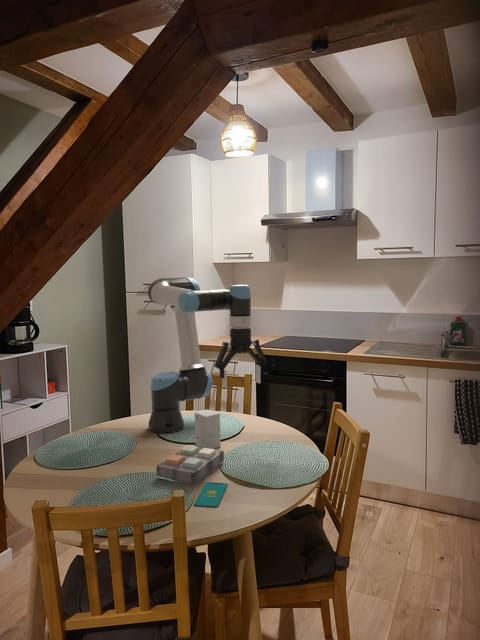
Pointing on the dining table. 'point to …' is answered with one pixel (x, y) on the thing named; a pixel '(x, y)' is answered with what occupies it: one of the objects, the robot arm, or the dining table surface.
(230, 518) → the dining table surface
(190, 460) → the key blue
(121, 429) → the dining table surface
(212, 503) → the smartphone
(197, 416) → the small box
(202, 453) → the key ivory
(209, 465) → the keypad
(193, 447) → the key sage
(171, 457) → the key terracotta
